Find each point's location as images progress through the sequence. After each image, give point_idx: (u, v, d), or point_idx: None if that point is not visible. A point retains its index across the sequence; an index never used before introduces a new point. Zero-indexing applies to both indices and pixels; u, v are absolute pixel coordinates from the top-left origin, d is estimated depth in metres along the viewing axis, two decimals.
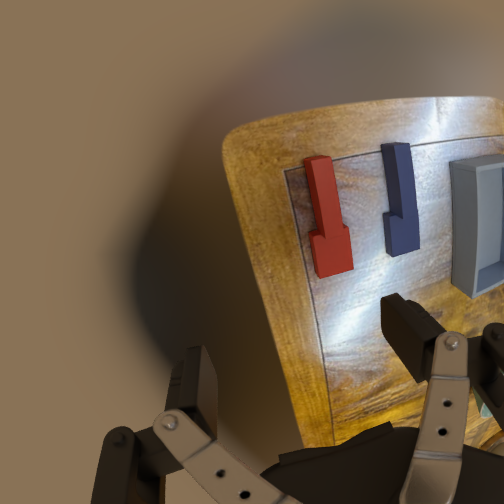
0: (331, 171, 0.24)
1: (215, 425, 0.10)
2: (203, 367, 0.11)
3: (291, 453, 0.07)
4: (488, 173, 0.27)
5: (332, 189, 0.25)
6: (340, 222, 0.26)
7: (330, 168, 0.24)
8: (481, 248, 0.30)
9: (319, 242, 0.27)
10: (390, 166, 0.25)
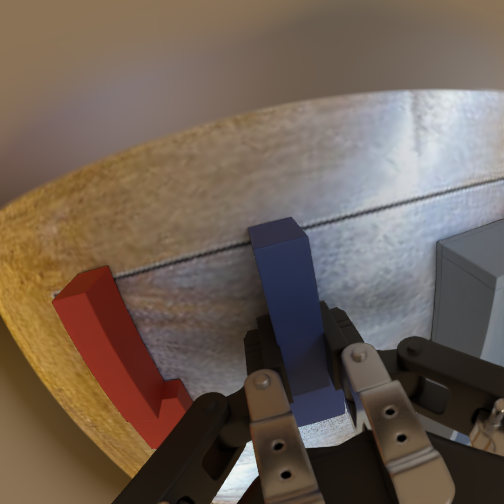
0: (94, 322, 0.10)
1: None
2: None
3: None
4: None
5: (107, 354, 0.11)
6: (143, 404, 0.12)
7: (90, 317, 0.10)
8: None
9: None
10: None
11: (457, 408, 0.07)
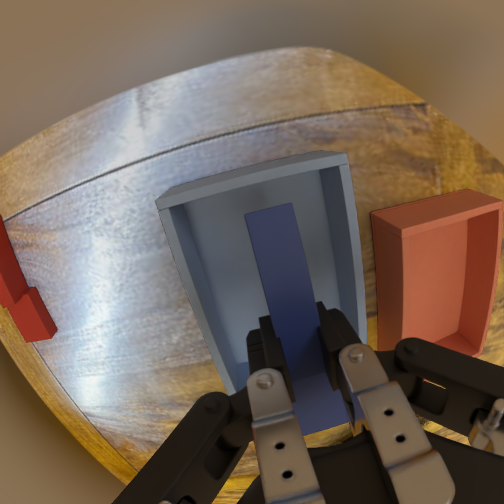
0: None
1: None
2: None
3: None
4: (277, 193, 0.19)
5: None
6: (6, 291, 0.18)
7: None
8: None
9: (10, 307, 0.19)
10: None
11: (456, 409, 0.07)
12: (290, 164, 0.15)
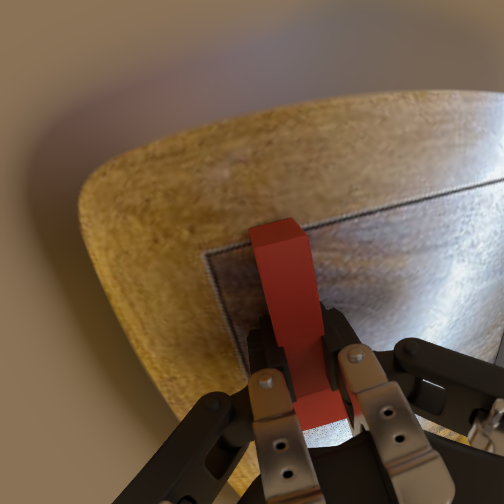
0: (307, 271, 0.10)
1: None
2: None
3: None
4: None
5: (309, 312, 0.10)
6: (324, 370, 0.11)
7: (305, 265, 0.10)
8: None
9: None
10: None
11: (455, 409, 0.07)
12: None
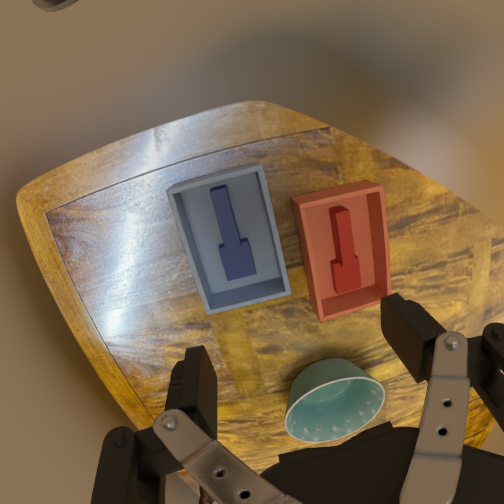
0: (349, 220, 0.34)
1: (215, 425, 0.10)
2: (203, 367, 0.11)
3: (291, 453, 0.07)
4: (232, 187, 0.35)
5: (349, 233, 0.35)
6: (353, 255, 0.36)
7: (348, 218, 0.34)
8: None
9: (338, 268, 0.38)
10: None
11: None
12: (232, 171, 0.30)
